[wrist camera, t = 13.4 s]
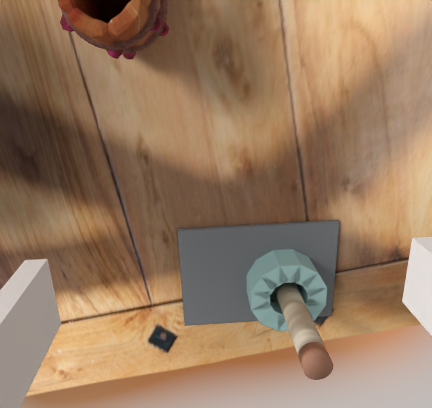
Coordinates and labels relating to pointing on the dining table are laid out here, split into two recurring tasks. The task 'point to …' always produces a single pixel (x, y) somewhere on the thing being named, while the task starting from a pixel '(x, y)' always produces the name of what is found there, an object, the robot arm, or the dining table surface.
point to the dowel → (303, 332)
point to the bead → (278, 274)
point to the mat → (245, 265)
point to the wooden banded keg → (116, 23)
